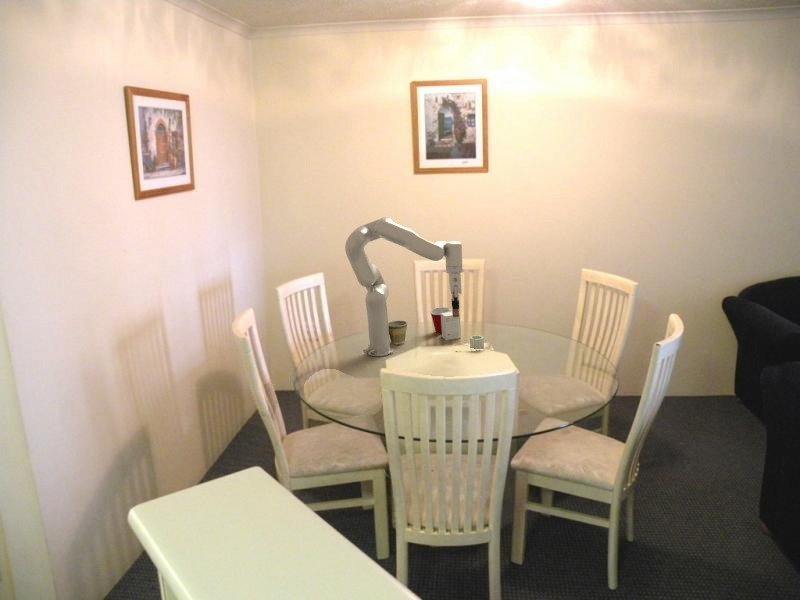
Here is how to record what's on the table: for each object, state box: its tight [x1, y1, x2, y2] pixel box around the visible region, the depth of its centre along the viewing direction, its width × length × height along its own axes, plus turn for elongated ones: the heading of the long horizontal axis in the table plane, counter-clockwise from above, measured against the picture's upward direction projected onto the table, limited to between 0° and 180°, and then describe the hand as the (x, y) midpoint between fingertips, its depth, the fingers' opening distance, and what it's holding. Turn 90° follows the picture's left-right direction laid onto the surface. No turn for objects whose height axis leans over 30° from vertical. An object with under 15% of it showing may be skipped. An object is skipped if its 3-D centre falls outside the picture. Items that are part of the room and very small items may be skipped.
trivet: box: [452, 341, 494, 351], centre depth 305 cm, size 18×12×1 cm, turn 89°
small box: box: [441, 311, 462, 341], centre depth 320 cm, size 8×6×13 cm
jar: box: [469, 334, 485, 349], centre depth 303 cm, size 7×7×5 cm
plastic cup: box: [429, 306, 451, 334], centre depth 332 cm, size 11×11×12 cm
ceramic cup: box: [388, 320, 408, 345], centre depth 321 cm, size 13×10×10 cm
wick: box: [451, 293, 460, 317], centre depth 298 cm, size 3×3×12 cm
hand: (455, 307), depth 299 cm, fingers closed on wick, 3 cm apart
